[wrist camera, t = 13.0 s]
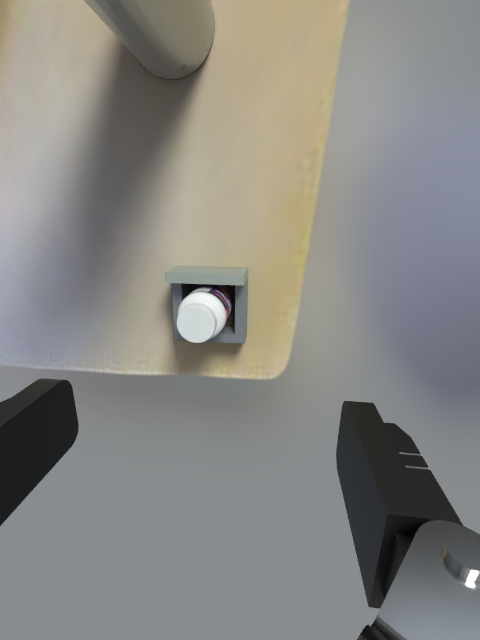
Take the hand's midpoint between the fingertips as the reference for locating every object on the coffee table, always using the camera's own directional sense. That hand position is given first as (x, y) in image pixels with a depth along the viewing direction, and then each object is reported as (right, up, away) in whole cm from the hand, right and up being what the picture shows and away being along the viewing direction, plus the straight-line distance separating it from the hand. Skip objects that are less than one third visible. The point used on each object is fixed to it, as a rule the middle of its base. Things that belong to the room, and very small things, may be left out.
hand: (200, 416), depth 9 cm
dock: (-2, +5, +32) cm, 33 cm away
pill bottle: (-2, +5, +33) cm, 33 cm away
